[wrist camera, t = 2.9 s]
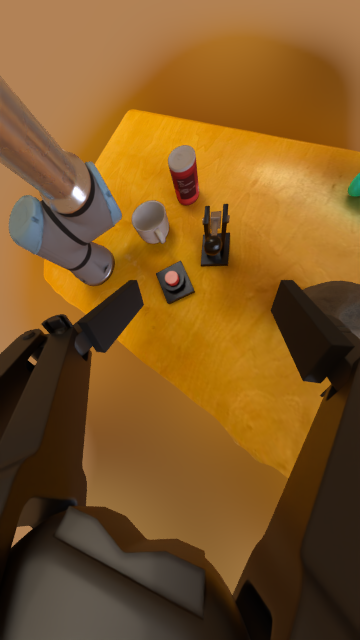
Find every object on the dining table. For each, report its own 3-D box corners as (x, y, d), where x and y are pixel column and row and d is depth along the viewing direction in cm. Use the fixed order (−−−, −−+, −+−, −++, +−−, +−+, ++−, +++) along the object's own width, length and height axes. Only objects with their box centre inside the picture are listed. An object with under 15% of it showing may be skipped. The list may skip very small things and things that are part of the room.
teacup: (140, 228, 53) (127, 209, 45) (167, 214, 51) (158, 192, 43) (150, 260, 50) (139, 246, 42) (179, 247, 48) (173, 229, 40)
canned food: (187, 182, 51) (180, 140, 40) (204, 192, 49) (201, 151, 38) (172, 199, 51) (162, 162, 41) (188, 209, 49) (182, 174, 39)
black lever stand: (227, 265, 44) (233, 233, 30) (201, 266, 46) (195, 235, 32) (229, 235, 45) (236, 191, 31) (203, 237, 47) (199, 196, 33)
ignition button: (164, 277, 44) (162, 274, 43) (176, 271, 44) (174, 268, 42) (169, 288, 44) (167, 286, 42) (181, 282, 43) (179, 279, 41)
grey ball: (263, 327, 39) (292, 319, 25) (295, 285, 39) (344, 252, 24) (316, 361, 35) (386, 375, 21) (352, 314, 35) (449, 297, 21)
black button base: (157, 275, 49) (153, 270, 45) (181, 263, 47) (179, 257, 44) (169, 304, 46) (165, 301, 43) (194, 292, 45) (193, 288, 41)
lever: (221, 259, 29) (222, 241, 26) (203, 259, 30) (202, 242, 27) (223, 224, 35) (224, 207, 32) (208, 226, 36) (208, 209, 33)
